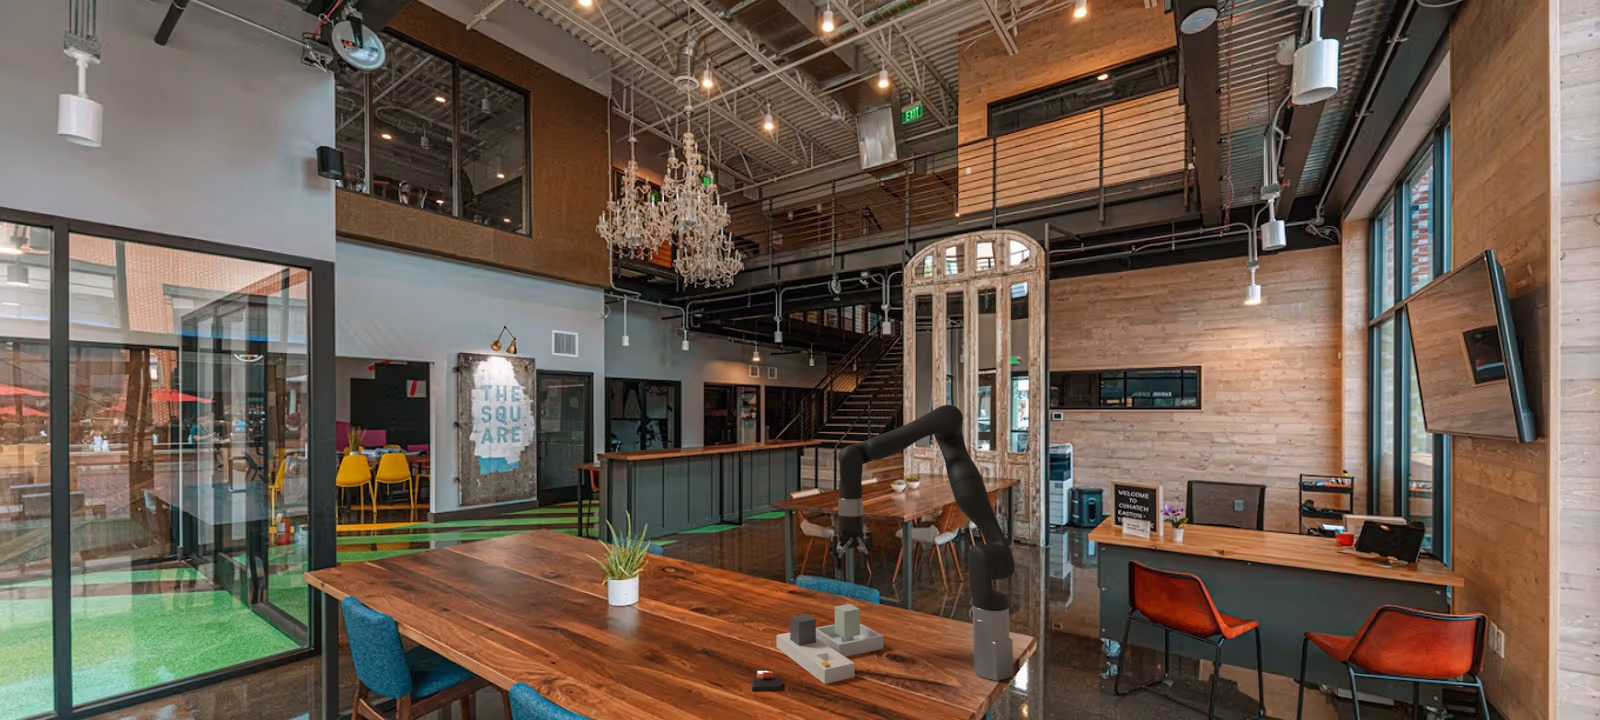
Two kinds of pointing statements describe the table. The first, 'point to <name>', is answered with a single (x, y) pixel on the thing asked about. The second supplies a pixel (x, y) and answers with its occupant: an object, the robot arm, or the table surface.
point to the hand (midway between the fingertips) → (851, 568)
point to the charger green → (847, 622)
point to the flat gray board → (817, 659)
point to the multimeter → (766, 681)
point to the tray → (859, 645)
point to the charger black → (802, 629)
